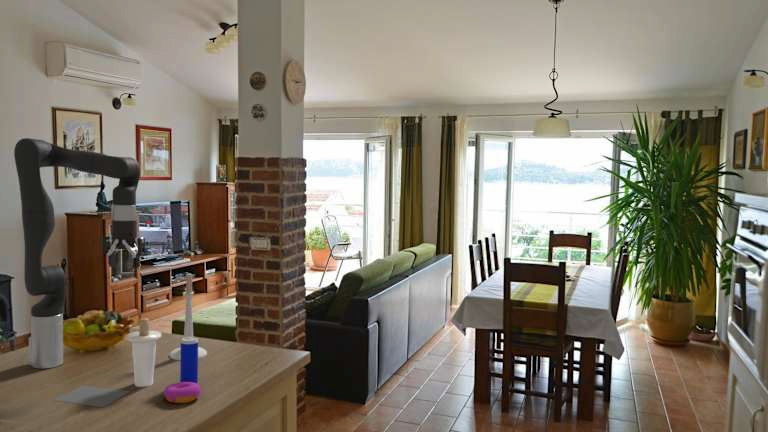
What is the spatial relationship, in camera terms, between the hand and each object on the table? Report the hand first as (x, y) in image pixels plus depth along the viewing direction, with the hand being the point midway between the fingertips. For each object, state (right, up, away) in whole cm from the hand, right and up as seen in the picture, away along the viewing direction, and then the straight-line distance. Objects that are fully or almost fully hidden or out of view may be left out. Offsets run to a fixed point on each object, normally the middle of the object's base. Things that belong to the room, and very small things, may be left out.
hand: (124, 267), depth 197 cm
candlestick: (+15, -33, +20) cm, 41 cm away
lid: (+12, -21, -12) cm, 27 cm away
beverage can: (+25, -36, -10) cm, 45 cm away
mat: (0, -36, -22) cm, 42 cm away
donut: (+26, -37, -20) cm, 50 cm away
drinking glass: (+11, -36, -11) cm, 39 cm away
